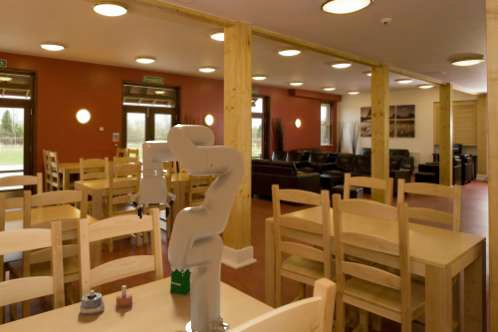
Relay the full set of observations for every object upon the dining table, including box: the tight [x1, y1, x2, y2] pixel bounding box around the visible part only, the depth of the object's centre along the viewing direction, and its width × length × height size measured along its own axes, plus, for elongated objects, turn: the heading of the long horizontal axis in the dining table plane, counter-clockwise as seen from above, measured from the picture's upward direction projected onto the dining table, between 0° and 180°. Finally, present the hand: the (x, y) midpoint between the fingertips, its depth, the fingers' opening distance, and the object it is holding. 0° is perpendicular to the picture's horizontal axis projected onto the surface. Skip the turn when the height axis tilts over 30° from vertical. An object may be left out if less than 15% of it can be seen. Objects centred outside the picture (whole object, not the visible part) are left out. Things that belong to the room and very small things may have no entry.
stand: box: [115, 285, 133, 309], centre depth 136 cm, size 6×6×7 cm
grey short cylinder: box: [80, 292, 103, 309], centre depth 132 cm, size 6×6×3 cm
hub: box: [79, 289, 105, 317], centre depth 132 cm, size 8×8×7 cm
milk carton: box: [169, 265, 193, 296], centre depth 148 cm, size 9×9×20 cm
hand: (153, 217), depth 143 cm, fingers open, 9 cm apart
